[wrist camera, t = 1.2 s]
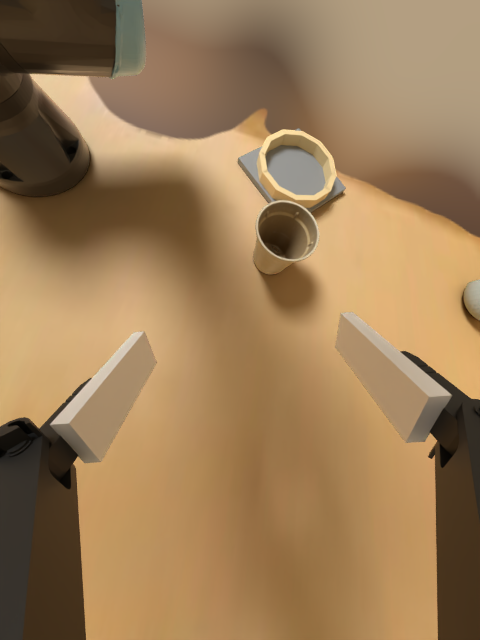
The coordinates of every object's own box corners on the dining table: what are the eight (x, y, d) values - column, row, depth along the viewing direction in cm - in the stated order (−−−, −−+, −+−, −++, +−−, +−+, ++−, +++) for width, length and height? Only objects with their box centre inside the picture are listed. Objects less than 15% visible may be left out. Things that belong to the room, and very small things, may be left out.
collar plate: (237, 162, 37) (240, 146, 35) (296, 133, 41) (303, 116, 38) (287, 227, 37) (294, 217, 34) (342, 192, 41) (353, 179, 38)
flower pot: (247, 230, 36) (259, 192, 27) (295, 240, 37) (321, 208, 28) (241, 277, 34) (252, 253, 25) (291, 287, 35) (317, 267, 27)
